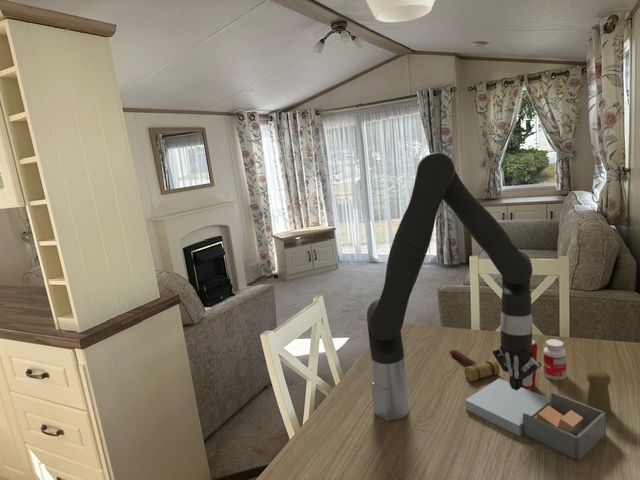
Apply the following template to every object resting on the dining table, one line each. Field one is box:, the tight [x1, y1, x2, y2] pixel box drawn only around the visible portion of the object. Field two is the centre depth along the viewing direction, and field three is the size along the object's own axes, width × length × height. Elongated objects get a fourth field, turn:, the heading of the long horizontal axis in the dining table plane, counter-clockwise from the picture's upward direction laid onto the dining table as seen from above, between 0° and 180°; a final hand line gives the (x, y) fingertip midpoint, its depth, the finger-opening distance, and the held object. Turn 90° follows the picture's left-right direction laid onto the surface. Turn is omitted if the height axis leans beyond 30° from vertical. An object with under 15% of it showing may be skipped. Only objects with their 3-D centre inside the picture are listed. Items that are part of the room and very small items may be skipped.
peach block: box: [557, 410, 583, 435], centre depth 105 cm, size 5×5×3 cm
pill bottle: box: [542, 338, 567, 381], centre depth 132 cm, size 6×6×11 cm
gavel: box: [449, 349, 500, 383], centre depth 145 cm, size 21×5×10 cm
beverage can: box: [522, 337, 538, 391], centre depth 128 cm, size 6×6×15 cm
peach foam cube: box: [536, 405, 563, 427], centre depth 109 cm, size 5×5×3 cm
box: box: [522, 391, 607, 463], centre depth 107 cm, size 14×13×6 cm
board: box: [464, 377, 551, 437], centre depth 119 cm, size 16×16×3 cm
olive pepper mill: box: [584, 368, 613, 417], centre depth 114 cm, size 6×6×11 cm
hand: (516, 388), depth 115 cm, fingers closed
